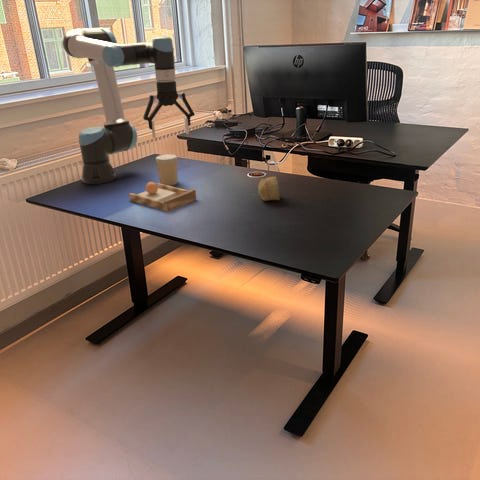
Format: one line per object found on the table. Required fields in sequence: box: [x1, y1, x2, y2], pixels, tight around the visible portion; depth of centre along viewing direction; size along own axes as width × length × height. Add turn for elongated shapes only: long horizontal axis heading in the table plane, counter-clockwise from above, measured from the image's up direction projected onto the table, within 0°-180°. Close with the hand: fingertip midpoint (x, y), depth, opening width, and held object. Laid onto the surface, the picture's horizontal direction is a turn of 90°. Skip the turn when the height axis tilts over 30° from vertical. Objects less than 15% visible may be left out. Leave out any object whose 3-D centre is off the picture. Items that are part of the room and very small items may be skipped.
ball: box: [145, 181, 158, 194], centre depth 193 cm, size 5×5×5 cm
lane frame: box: [128, 182, 197, 213], centre depth 191 cm, size 22×16×4 cm
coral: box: [257, 176, 281, 202], centre depth 186 cm, size 10×10×10 cm
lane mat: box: [136, 187, 177, 202], centre depth 192 cm, size 20×14×2 cm
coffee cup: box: [155, 153, 178, 186], centre depth 209 cm, size 9×9×12 cm
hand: (170, 135), depth 191 cm, fingers open, 13 cm apart
